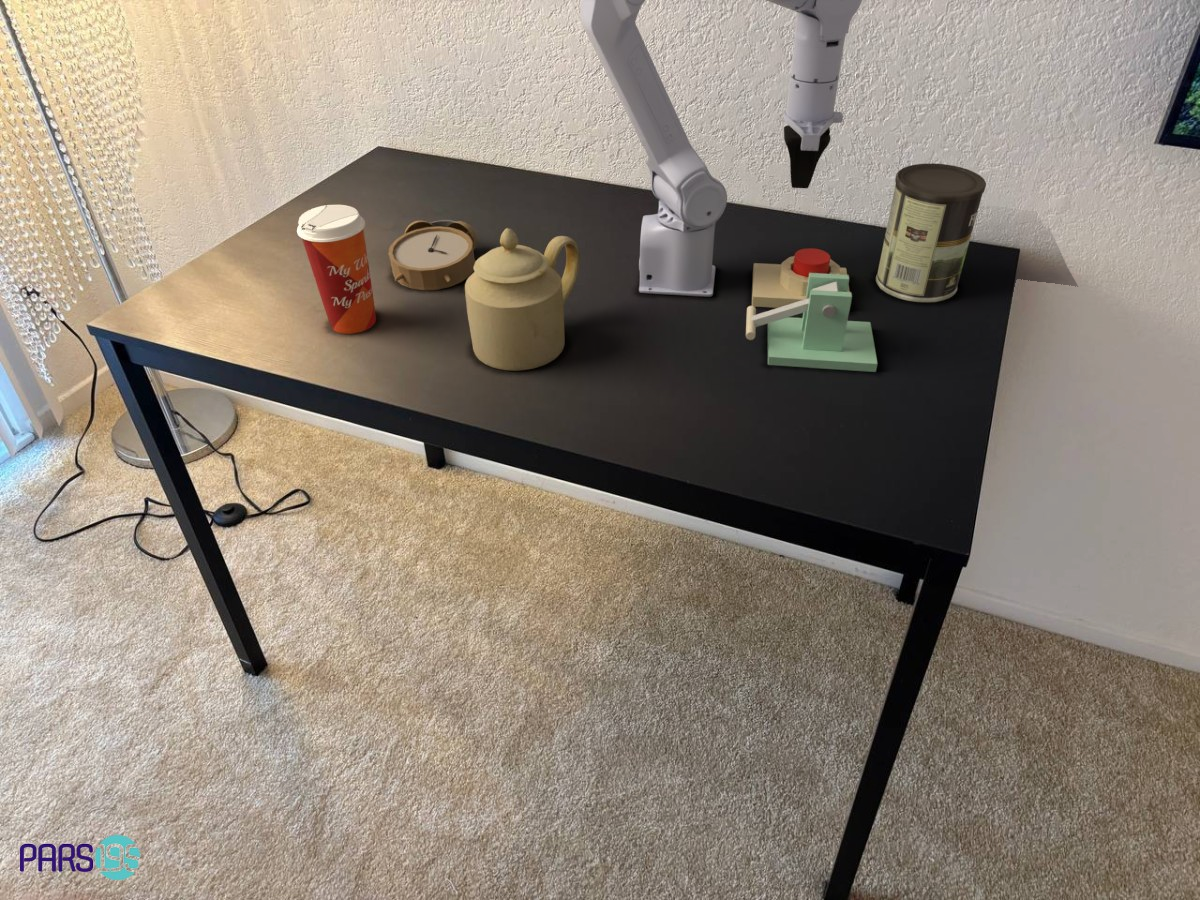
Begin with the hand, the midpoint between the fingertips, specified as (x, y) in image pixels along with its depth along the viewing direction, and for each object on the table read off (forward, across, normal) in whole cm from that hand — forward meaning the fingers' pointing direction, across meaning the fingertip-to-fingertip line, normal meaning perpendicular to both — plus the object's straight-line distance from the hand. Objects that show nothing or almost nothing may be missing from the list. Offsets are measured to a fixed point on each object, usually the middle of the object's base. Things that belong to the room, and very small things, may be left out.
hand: (799, 186), depth 111 cm
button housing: (+10, -9, -1) cm, 14 cm away
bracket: (+10, -22, -3) cm, 25 cm away
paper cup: (+11, -23, +54) cm, 60 cm away
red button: (+7, -9, -2) cm, 12 cm away
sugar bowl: (+11, -24, +32) cm, 41 cm away
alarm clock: (+11, -7, +48) cm, 50 cm away
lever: (+7, -22, 0) cm, 23 cm away
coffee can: (+11, -5, -16) cm, 20 cm away
